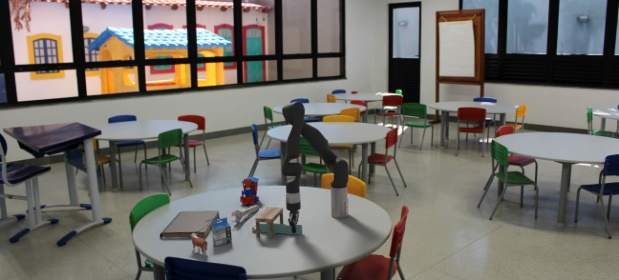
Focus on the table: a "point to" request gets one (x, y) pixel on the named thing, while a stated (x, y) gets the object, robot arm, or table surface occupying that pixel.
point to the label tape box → (221, 232)
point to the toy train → (249, 190)
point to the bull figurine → (199, 243)
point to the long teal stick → (280, 228)
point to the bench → (268, 219)
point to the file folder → (190, 224)
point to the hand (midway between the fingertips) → (294, 232)
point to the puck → (254, 229)
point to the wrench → (243, 213)
